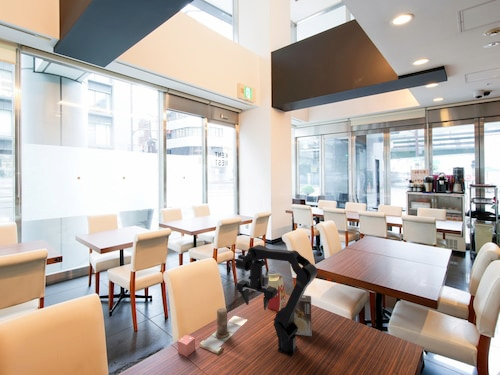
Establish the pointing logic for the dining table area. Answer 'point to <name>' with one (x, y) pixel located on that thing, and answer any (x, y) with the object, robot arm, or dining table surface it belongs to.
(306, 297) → the coffee box
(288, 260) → the robot arm
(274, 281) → the milk carton
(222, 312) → the pawn
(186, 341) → the die
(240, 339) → the dining table surface
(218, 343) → the board
